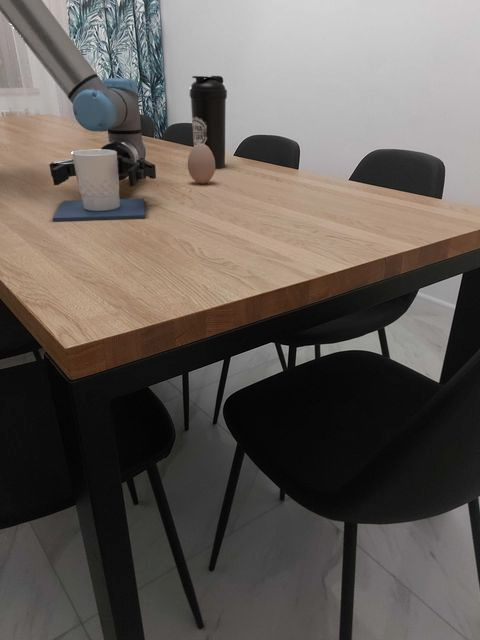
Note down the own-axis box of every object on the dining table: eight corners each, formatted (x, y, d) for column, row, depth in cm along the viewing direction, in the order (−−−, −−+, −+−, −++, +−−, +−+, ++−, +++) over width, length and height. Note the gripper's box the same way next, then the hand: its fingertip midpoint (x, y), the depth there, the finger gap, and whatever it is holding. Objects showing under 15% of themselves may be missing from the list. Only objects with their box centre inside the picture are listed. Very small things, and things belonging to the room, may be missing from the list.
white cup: (124, 202, 100) (118, 149, 96) (121, 211, 94) (114, 155, 89) (83, 203, 99) (75, 149, 94) (77, 212, 92) (68, 155, 88)
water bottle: (185, 165, 145) (180, 75, 134) (213, 162, 151) (211, 75, 140) (206, 170, 138) (203, 75, 127) (235, 167, 144) (234, 76, 133)
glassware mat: (53, 221, 89) (52, 218, 89) (63, 203, 101) (62, 200, 101) (145, 218, 92) (144, 214, 92) (144, 201, 104) (144, 198, 104)
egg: (199, 179, 126) (197, 140, 122) (221, 182, 123) (220, 143, 119) (183, 184, 121) (180, 143, 117) (205, 187, 118) (203, 145, 114)
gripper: (176, 178, 112) (163, 200, 93) (62, 177, 111) (27, 198, 92) (174, 142, 108) (160, 157, 89) (56, 140, 107) (18, 154, 88)
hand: (92, 178), depth 91 cm, fingers open, 13 cm apart
